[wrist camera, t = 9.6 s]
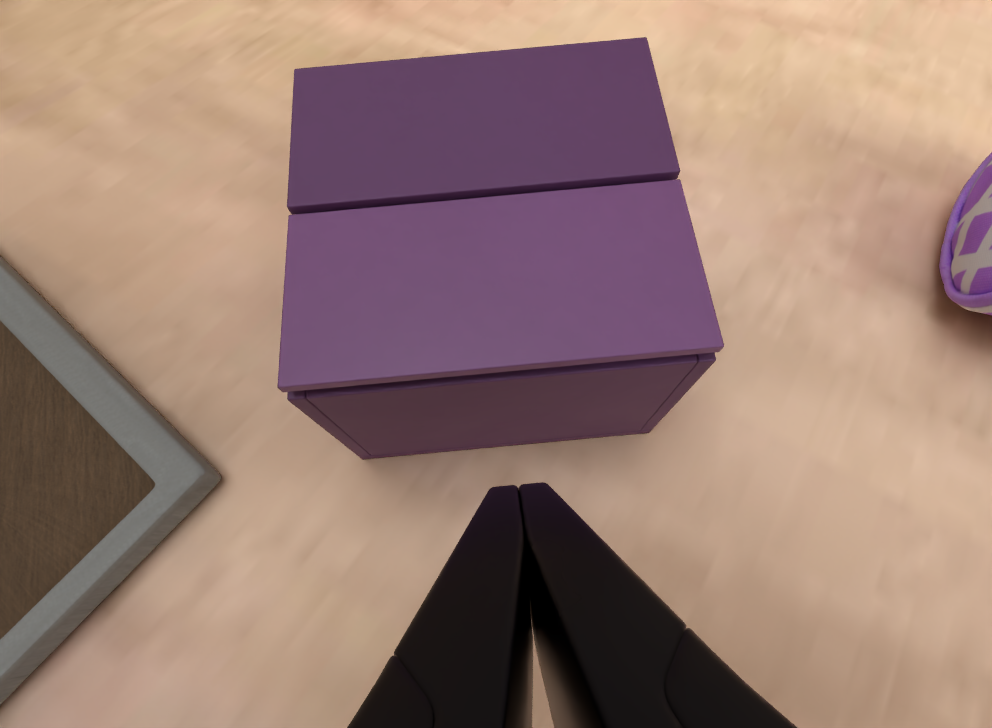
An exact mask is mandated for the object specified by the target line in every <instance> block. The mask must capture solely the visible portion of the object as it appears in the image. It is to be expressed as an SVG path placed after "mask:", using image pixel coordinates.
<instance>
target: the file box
mask: <svg viewBox="0 0 992 728" xmlns="http://www.w3.org/2000/svg"><path fill="white" fill-rule="evenodd" d="M679 173H680V168H679V164H678V160H677V156H676V152H675V148H674V144H673V140H672V136H671V132H670V128H669V124H668V120H667V116H666V112H665V108H664V105H663V101H662V97H661V93H660V89H659V85H658V81H657V77H656V73H655V69H654V65H653V61H652V57H651V53H650V49H649V45H648V41H647V38H646V37H644V38H633V39H622V40H611V41H600V42H589V43H577V44H566V45H555V46H544V47H533V48H522V49H511V50H500V51H489V52H478V53H467V54H456V55H445V56H434V57H422V58H411V59H400V60H389V61H378V62H367V63H356V64H345V65H334V66H323V67H312V68H301V69H295V70H294V86H293V105H292V124H291V143H290V161H289V180H288V199H287V207H288V209H289V211H290V212H291V214H305V213H316V212H327V211H338V210H349V209H360V208H371V207H382V206H393V205H404V204H415V203H426V202H437V201H448V200H459V199H470V198H481V197H491V196H502V195H513V194H524V193H535V192H546V191H557V190H568V189H579V188H590V187H601V186H612V185H623V184H634V183H645V182H656V181H667V180H676V179H677V178H678V175H679ZM715 361H716V357H715V353H714V352H713V353H702V354H691V355H680V356H670V357H659V358H648V359H637V360H626V361H616V362H605V363H594V364H583V365H572V366H562V367H551V368H540V369H529V370H518V371H508V372H497V373H486V374H475V375H464V376H453V377H443V378H432V379H421V380H410V381H399V382H389V383H378V384H367V385H356V386H345V387H335V388H324V389H313V390H302V391H291V392H288V398H287V399H288V401H290V402H291V403H292V404H293V405H295V406H296V407H297V408H298V409H300V410H301V411H302V412H304V413H305V414H306V415H307V416H309V417H310V418H311V419H312V420H314V421H315V422H316V423H317V424H319V425H320V426H321V427H322V428H324V429H325V430H326V431H327V432H329V433H330V434H331V435H333V436H334V437H335V438H336V439H338V440H339V441H340V442H341V443H343V444H344V445H345V446H346V447H348V448H349V449H350V450H351V451H353V452H354V453H355V454H356V455H358V456H359V457H360V458H361V459H371V458H382V457H393V456H404V455H414V454H425V453H436V452H447V451H457V450H468V449H479V448H490V447H500V446H511V445H522V444H533V443H543V442H554V441H565V440H576V439H586V438H597V437H608V436H619V435H629V434H640V433H649V432H650V431H651V430H652V429H653V428H654V427H655V426H656V425H657V424H658V422H659V421H660V420H661V419H662V418H663V417H664V416H665V415H666V414H667V413H668V412H669V411H670V409H671V408H672V407H673V406H674V405H675V404H676V403H677V402H678V401H679V400H680V399H681V398H682V396H683V395H684V394H685V393H686V392H687V391H688V390H689V389H690V388H691V387H692V386H693V385H694V383H695V382H696V381H697V380H698V379H699V378H700V377H701V376H702V375H703V374H704V373H705V372H706V370H707V369H708V368H709V367H710V366H711V365H712V364H713V363H714V362H715Z"/></svg>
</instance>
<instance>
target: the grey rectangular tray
mask: <svg viewBox="0 0 992 728" xmlns="http://www.w3.org/2000/svg"><path fill="white" fill-rule="evenodd" d="M220 480H221V475H220V474H219V473H218V471H217V470H216V469H215V468H214V467H213V466H212V465H211V464H210V463H209V462H208V461H207V460H206V459H205V458H204V457H203V456H202V455H201V454H200V453H199V452H198V451H197V450H196V449H195V448H194V447H193V446H192V445H191V444H190V443H189V442H188V441H187V440H186V439H185V438H184V437H183V436H182V435H181V434H180V433H179V432H178V431H176V430H175V429H174V428H173V427H172V426H171V425H170V424H169V423H168V422H167V421H166V420H165V419H164V418H163V417H162V416H161V415H160V414H159V413H158V412H157V411H156V410H155V409H154V408H153V407H152V406H151V405H150V404H149V403H148V402H147V401H146V400H145V399H144V398H143V397H142V396H141V395H140V394H139V393H138V392H137V391H136V390H135V389H134V388H133V387H132V386H131V385H130V384H129V383H128V382H127V381H126V380H125V379H124V378H123V377H122V376H121V375H120V374H119V373H118V372H117V371H116V370H115V369H114V368H113V367H112V366H111V365H110V364H109V363H108V362H107V361H106V360H105V359H104V358H103V357H102V356H101V355H100V354H99V353H98V352H97V351H96V350H95V349H94V348H93V347H92V346H91V345H90V344H89V343H88V342H87V341H86V340H85V339H84V338H83V337H82V336H81V335H80V334H79V333H78V332H77V331H76V330H75V329H74V328H73V327H72V326H70V325H69V324H68V323H67V322H66V321H65V320H64V319H63V318H62V317H61V316H60V315H59V314H58V313H57V312H56V311H55V310H54V309H53V308H52V307H51V306H50V305H49V304H48V303H47V302H46V301H45V300H44V299H43V298H42V297H41V296H40V295H39V294H38V293H37V292H36V291H35V290H34V289H33V288H32V287H31V286H30V285H29V284H28V283H27V282H26V281H25V280H24V279H23V278H22V277H21V276H20V275H19V274H18V273H17V272H16V271H15V270H14V269H13V268H12V267H11V266H10V265H9V264H8V263H7V262H6V261H5V260H4V259H3V258H2V257H1V256H0V705H1V704H2V703H3V702H4V701H5V700H6V698H7V697H8V696H9V695H10V694H11V693H12V692H13V691H14V690H15V689H16V688H17V687H18V686H19V685H20V684H21V683H22V682H23V681H24V680H25V679H26V678H27V677H28V676H29V675H30V674H31V673H32V672H33V671H34V670H35V669H36V668H37V667H38V666H39V665H40V664H41V663H42V662H43V661H44V660H45V659H46V658H47V657H48V656H49V655H50V654H51V653H52V652H53V651H54V650H55V649H56V648H57V647H58V646H59V645H60V644H61V643H62V642H63V641H64V640H65V639H66V638H67V637H68V635H69V634H70V633H71V632H72V631H73V630H74V629H75V628H76V627H77V626H78V625H79V624H80V623H81V622H82V621H83V620H84V619H85V618H86V617H87V616H88V615H89V614H90V613H91V612H92V611H93V610H94V609H95V608H96V607H97V606H98V605H99V604H100V603H101V602H102V601H103V600H104V599H105V598H106V597H107V596H108V595H109V594H110V593H111V592H112V591H113V590H114V589H115V588H116V587H117V586H118V585H119V584H120V583H121V582H122V581H123V580H124V579H125V578H126V577H127V576H128V575H129V574H130V573H131V571H132V570H133V569H134V568H135V567H136V566H137V565H138V564H139V563H140V562H141V561H142V560H143V559H144V558H145V557H146V556H147V555H148V554H149V553H150V552H151V551H152V550H153V549H154V548H155V547H156V546H157V545H158V544H159V543H160V542H161V541H162V540H163V539H164V538H165V537H166V536H167V535H168V534H169V533H170V532H171V531H172V530H173V529H174V528H175V527H176V526H177V525H178V524H179V523H180V522H181V521H182V520H183V519H184V518H185V517H186V516H187V515H188V514H189V513H190V512H191V511H192V510H193V509H194V507H195V506H196V505H197V504H198V503H199V502H200V501H201V500H202V499H203V498H204V497H205V496H206V495H207V494H208V493H209V492H210V491H211V490H212V489H213V488H214V487H215V486H216V485H217V483H218V482H219V481H220Z"/></svg>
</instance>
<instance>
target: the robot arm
mask: <svg viewBox="0 0 992 728" xmlns="http://www.w3.org/2000/svg"><path fill="white" fill-rule="evenodd" d="M531 619H532V623H531ZM532 627H533V634H534V641H535V646H536V651H537V656H538V660H539V664H540V668H541V673H542V677H543V681H544V685H545V690H546V694H547V698H548V702H549V707H550V711H551V715H552V719H553V724H554V728H797V727H796V726H795V725H794V724H792V723H791V722H790V721H789V720H788V719H787V718H785V717H784V716H783V715H782V714H781V713H780V712H779V711H777V710H776V709H775V708H774V707H773V706H772V705H770V704H769V703H768V702H767V701H766V700H765V699H764V698H762V697H761V696H760V695H759V694H758V693H757V692H756V691H754V690H753V689H752V688H751V687H750V686H749V685H748V684H746V683H745V682H744V681H743V680H742V679H741V678H740V677H739V676H738V675H737V674H736V673H735V672H734V671H733V670H732V669H731V668H730V667H729V666H728V665H727V664H725V663H724V662H723V661H722V660H721V659H720V658H719V657H718V656H717V655H716V654H715V653H714V652H713V651H712V650H711V649H710V648H709V647H708V646H707V645H706V644H705V643H704V642H703V641H702V640H701V639H700V638H699V637H698V636H697V635H696V634H695V633H694V632H693V631H692V630H691V629H690V628H687V629H686V624H685V623H684V622H683V621H682V620H681V619H680V618H679V617H678V616H677V615H676V614H675V613H674V612H673V611H672V610H671V609H670V608H669V607H668V606H667V605H666V604H665V603H664V602H663V601H662V600H661V599H660V598H659V597H658V596H657V595H656V594H655V593H654V592H653V591H652V589H651V588H650V587H649V586H648V585H647V584H646V583H645V582H644V581H643V580H642V579H641V578H640V577H639V576H638V575H637V574H636V573H635V572H634V571H633V570H632V569H631V568H630V567H629V566H628V565H627V564H626V563H625V562H624V561H623V560H622V559H621V558H620V557H619V556H618V555H617V554H616V553H615V552H614V551H613V550H612V549H611V548H610V547H609V546H608V545H607V544H606V543H605V542H604V541H603V540H602V539H601V538H600V537H599V536H598V535H597V534H596V533H595V532H594V531H593V530H592V529H591V528H590V527H589V526H588V525H587V524H586V523H585V522H584V521H583V520H582V519H581V517H580V516H579V515H578V514H577V513H576V512H575V511H574V510H573V509H572V508H571V507H570V506H569V505H568V504H567V503H566V502H565V501H564V500H563V499H562V498H561V497H560V496H559V495H558V494H557V493H556V492H555V491H554V490H553V489H552V488H551V487H550V486H549V485H548V484H546V483H543V482H542V483H531V484H523V485H521V486H520V487H519V490H518V488H517V486H515V485H510V486H499V487H492V488H491V489H489V491H488V493H487V494H486V496H485V498H484V499H483V501H482V503H481V505H480V506H479V508H478V510H477V511H476V513H475V515H474V516H473V518H472V520H471V522H470V523H469V525H468V527H467V528H466V530H465V532H464V534H463V535H462V537H461V539H460V540H459V542H458V544H457V545H456V547H455V549H454V551H453V552H452V554H451V556H450V557H449V559H448V561H447V563H446V564H445V566H444V568H443V569H442V571H441V573H440V574H439V576H438V578H437V580H436V581H435V583H434V585H433V586H432V588H431V590H430V591H429V593H428V595H427V597H426V598H425V600H424V602H423V603H422V605H421V607H420V609H419V610H418V612H417V614H416V615H415V617H414V619H413V620H412V622H411V624H410V626H409V627H408V629H407V631H406V632H405V634H404V636H403V638H402V639H401V641H400V643H399V644H398V646H397V648H396V649H395V651H394V656H392V657H391V658H390V659H389V661H388V662H387V664H386V666H385V668H384V669H383V671H382V673H381V675H380V676H379V678H378V680H377V681H376V683H375V685H374V686H373V688H372V689H371V691H370V693H369V694H368V696H367V697H366V699H365V701H364V702H363V704H362V705H361V707H360V709H359V710H358V712H357V713H356V715H355V716H354V718H353V720H352V721H351V723H350V724H349V726H348V727H347V728H532V698H533V636H532Z"/></svg>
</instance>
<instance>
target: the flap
mask: <svg viewBox="0 0 992 728" xmlns="http://www.w3.org/2000/svg"><path fill="white" fill-rule="evenodd" d="M723 347H724V343H723V340H722V336H721V332H720V328H719V325H718V321H717V317H716V313H715V309H714V306H713V302H712V298H711V294H710V291H709V287H708V283H707V279H706V275H705V272H704V268H703V264H702V260H701V257H700V253H699V249H698V245H697V241H696V238H695V234H694V230H693V226H692V223H691V219H690V215H689V211H688V207H687V204H686V200H685V196H684V192H683V189H682V185H681V181H680V180H679V179H678V180H667V181H656V182H645V183H634V184H623V185H612V186H601V187H590V188H579V189H568V190H557V191H546V192H535V193H524V194H513V195H502V196H491V197H481V198H470V199H459V200H448V201H437V202H426V203H415V204H404V205H393V206H382V207H371V208H360V209H349V210H338V211H327V212H316V213H305V214H294V215H289V219H288V234H287V250H286V265H285V281H284V296H283V311H282V327H281V342H280V358H279V373H278V388H279V389H280V390H281V391H282V392H291V391H302V390H313V389H324V388H335V387H345V386H356V385H367V384H378V383H389V382H399V381H410V380H421V379H432V378H443V377H453V376H464V375H475V374H486V373H497V372H508V371H518V370H529V369H540V368H551V367H562V366H572V365H583V364H594V363H605V362H616V361H626V360H637V359H648V358H659V357H670V356H680V355H691V354H702V353H713V352H719V351H720V350H721V349H722V348H723Z"/></svg>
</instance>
